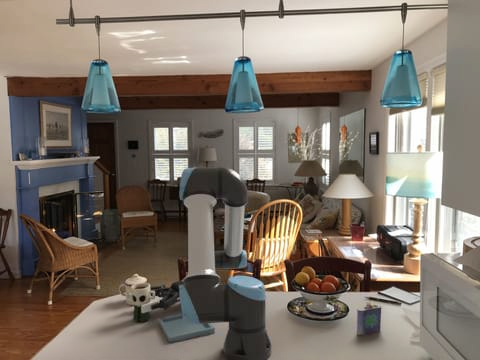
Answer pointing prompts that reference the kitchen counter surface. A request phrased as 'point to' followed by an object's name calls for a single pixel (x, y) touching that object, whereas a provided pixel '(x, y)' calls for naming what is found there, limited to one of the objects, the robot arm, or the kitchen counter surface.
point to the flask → (368, 319)
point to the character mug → (140, 300)
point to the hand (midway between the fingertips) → (133, 303)
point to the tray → (183, 328)
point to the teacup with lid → (130, 282)
